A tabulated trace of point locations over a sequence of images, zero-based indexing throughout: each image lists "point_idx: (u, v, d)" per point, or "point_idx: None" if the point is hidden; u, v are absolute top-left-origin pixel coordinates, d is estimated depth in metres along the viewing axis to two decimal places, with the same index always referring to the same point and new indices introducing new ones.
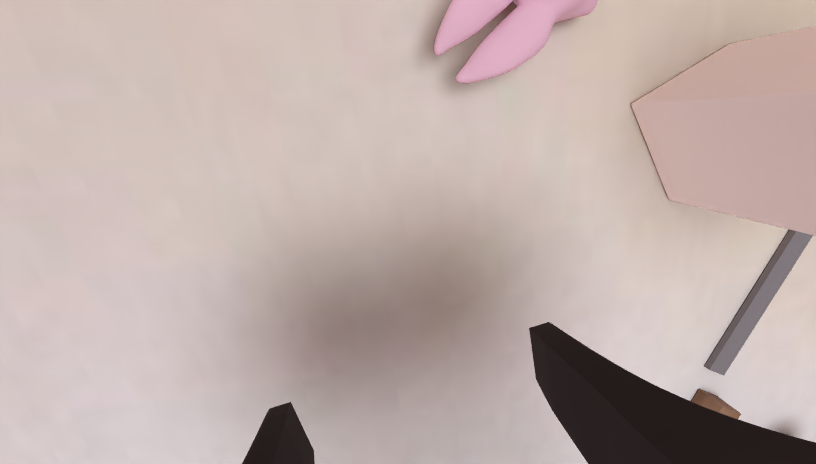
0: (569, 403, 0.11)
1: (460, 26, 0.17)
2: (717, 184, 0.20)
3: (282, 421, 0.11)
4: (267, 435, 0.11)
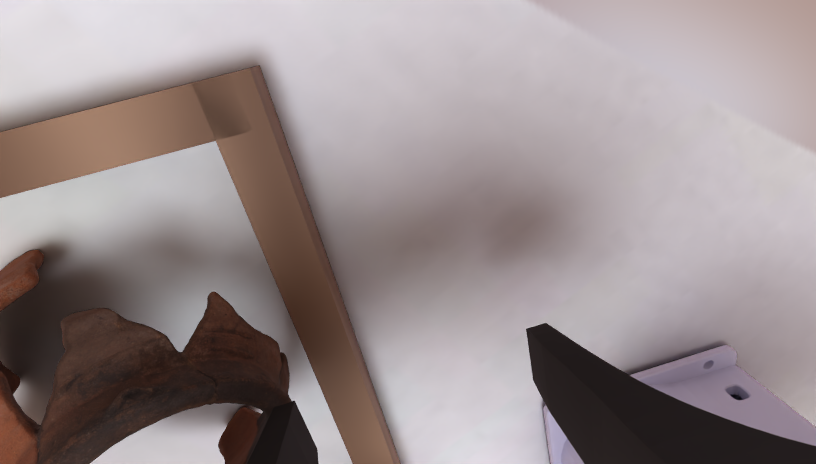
0: (566, 404, 0.11)
1: None
2: None
3: (286, 420, 0.11)
4: (271, 434, 0.11)
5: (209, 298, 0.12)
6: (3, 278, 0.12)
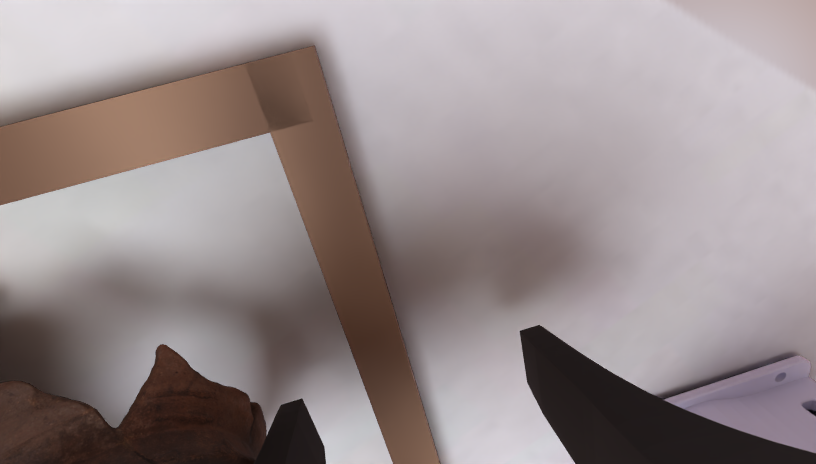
0: (559, 406, 0.11)
1: None
2: None
3: (294, 417, 0.11)
4: (280, 431, 0.11)
5: (157, 353, 0.10)
6: None
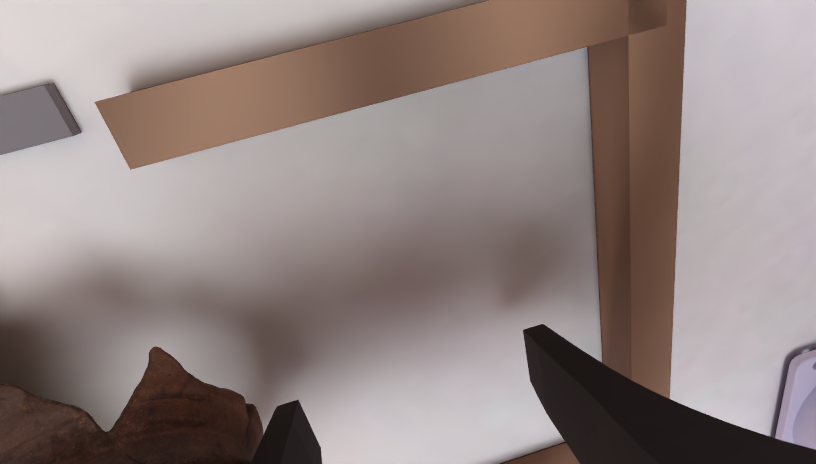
0: (562, 405, 0.11)
1: None
2: None
3: (290, 418, 0.11)
4: (276, 432, 0.11)
5: (150, 355, 0.10)
6: None
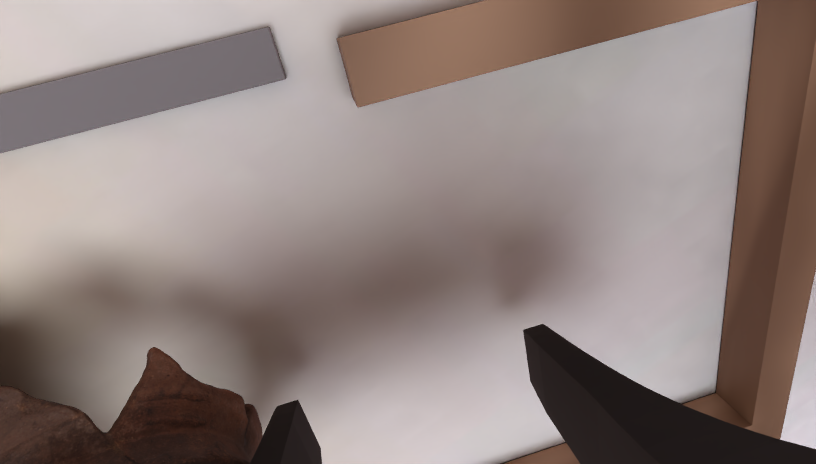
0: (563, 405, 0.11)
1: None
2: None
3: (290, 419, 0.11)
4: (275, 432, 0.11)
5: (148, 356, 0.10)
6: None
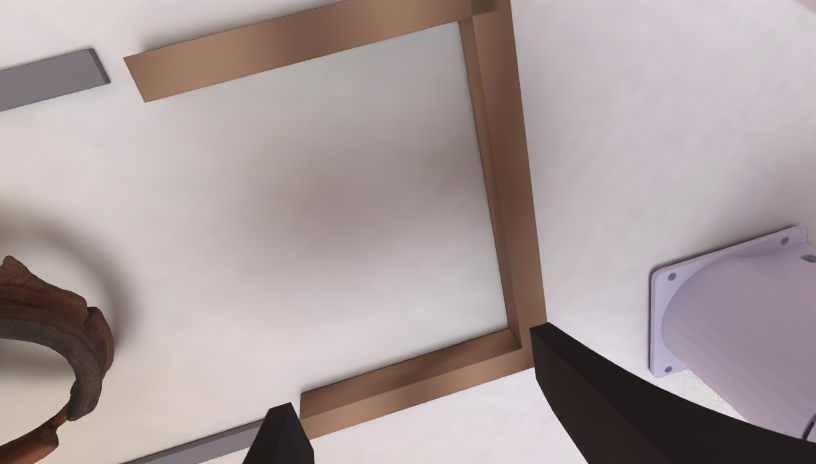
0: (569, 403, 0.11)
1: None
2: None
3: (282, 421, 0.11)
4: (267, 435, 0.11)
5: (3, 260, 0.15)
6: None
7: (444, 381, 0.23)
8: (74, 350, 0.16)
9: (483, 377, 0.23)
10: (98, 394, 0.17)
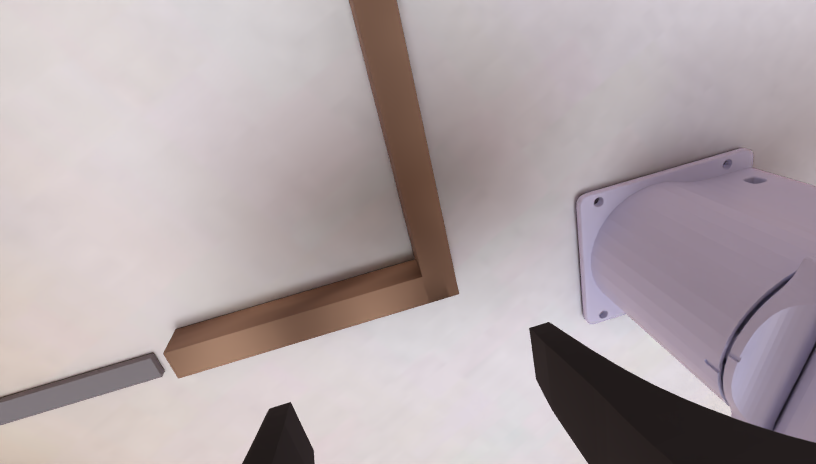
0: (569, 403, 0.11)
1: None
2: None
3: (282, 421, 0.11)
4: (267, 435, 0.11)
5: None
6: None
7: (333, 313, 0.20)
8: None
9: (379, 311, 0.20)
10: None
